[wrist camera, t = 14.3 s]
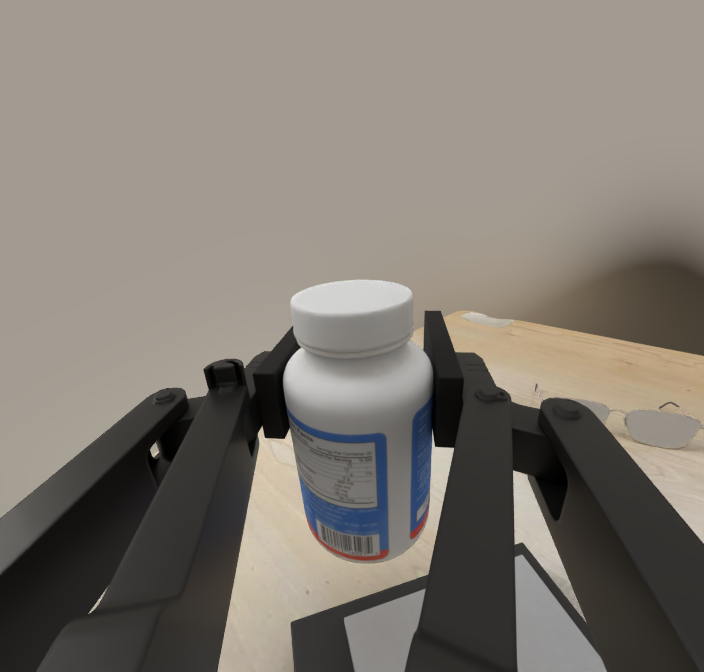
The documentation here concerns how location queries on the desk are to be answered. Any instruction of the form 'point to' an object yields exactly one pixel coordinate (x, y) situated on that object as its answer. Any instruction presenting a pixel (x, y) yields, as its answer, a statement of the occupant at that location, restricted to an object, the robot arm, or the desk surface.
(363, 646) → the scale
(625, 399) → the desk surface
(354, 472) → the pill bottle
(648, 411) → the eyeglasses
